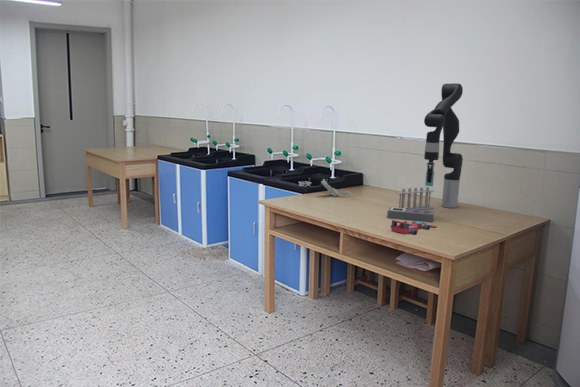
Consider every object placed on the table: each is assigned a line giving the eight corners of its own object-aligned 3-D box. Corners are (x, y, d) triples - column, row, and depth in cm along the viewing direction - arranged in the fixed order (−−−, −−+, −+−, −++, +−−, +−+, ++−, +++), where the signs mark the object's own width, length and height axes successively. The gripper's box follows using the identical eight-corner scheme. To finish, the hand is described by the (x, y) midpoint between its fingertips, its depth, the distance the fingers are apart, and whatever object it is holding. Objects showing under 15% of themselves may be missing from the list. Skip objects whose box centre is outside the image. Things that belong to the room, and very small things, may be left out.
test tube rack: (399, 211, 282) (401, 189, 280) (395, 210, 286) (396, 188, 284) (433, 208, 293) (434, 187, 290) (428, 207, 296) (429, 186, 294)
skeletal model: (356, 196, 326) (337, 173, 312) (348, 207, 324) (329, 184, 310) (340, 192, 339) (321, 169, 325) (333, 202, 337) (313, 180, 323)
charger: (425, 184, 270) (426, 170, 268) (433, 185, 268) (434, 171, 267) (425, 185, 266) (426, 171, 265) (432, 186, 265) (434, 171, 263)
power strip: (389, 214, 275) (390, 206, 274) (433, 218, 267) (433, 210, 267) (387, 217, 266) (387, 210, 265) (432, 222, 258) (433, 214, 257)
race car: (441, 218, 244) (410, 224, 229) (440, 229, 245) (409, 236, 230) (418, 212, 255) (387, 218, 240) (418, 223, 256) (386, 230, 241)
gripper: (438, 152, 256) (436, 184, 259) (439, 150, 269) (436, 180, 272) (424, 151, 258) (421, 183, 261) (425, 149, 272) (422, 179, 275)
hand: (429, 181), depth 267 cm, fingers closed on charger, 4 cm apart
